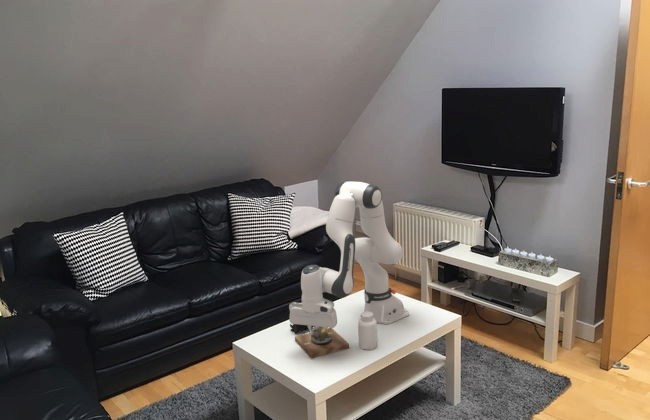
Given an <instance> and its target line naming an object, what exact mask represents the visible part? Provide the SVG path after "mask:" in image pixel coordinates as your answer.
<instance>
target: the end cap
mask: <svg viewBox="0 0 650 420" xmlns="http://www.w3.org/2000/svg"><path fill="white" fill-rule="evenodd" d="M289 327H290V331H291V332H292V333H294V334H295V335H296V334H298V333H302V332H305V331H308V330H309V328H308V325H299V324H291V323H289ZM312 328H313V329H314V326H312Z"/></svg>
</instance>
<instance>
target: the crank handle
mask: <svg viewBox="0 0 650 420" xmlns="http://www.w3.org/2000/svg"><path fill="white" fill-rule="evenodd" d="M328 328H329V327H318V329H316V330H315V328H314V327H313V330H314V331H313V333H314V335H313V336H314V341H318V340H319V339H323V338H326V337H328V336H332V333H328ZM309 333H310V335H311V331H309Z"/></svg>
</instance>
